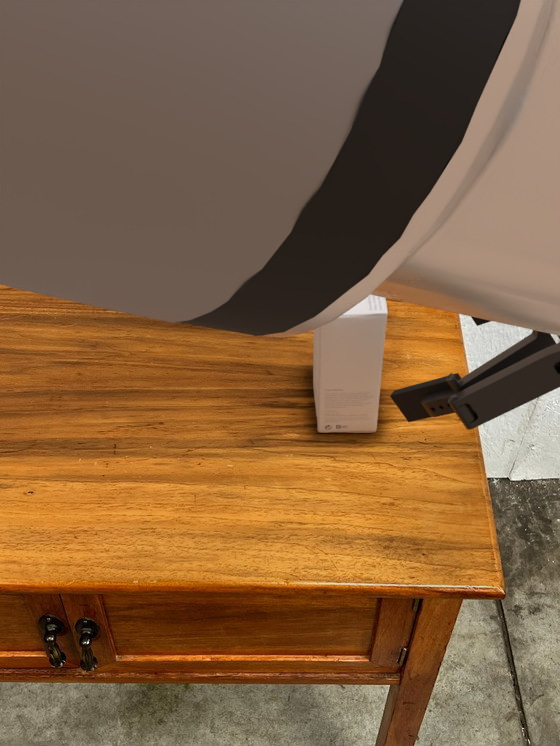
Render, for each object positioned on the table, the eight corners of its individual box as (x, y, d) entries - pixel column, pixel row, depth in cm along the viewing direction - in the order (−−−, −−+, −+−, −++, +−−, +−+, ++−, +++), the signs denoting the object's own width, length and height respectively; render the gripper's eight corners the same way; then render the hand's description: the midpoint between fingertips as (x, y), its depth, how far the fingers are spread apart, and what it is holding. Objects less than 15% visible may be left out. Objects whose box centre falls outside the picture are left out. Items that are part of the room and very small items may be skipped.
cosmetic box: (376, 434, 74) (393, 317, 63) (313, 435, 74) (319, 318, 63) (368, 371, 80) (382, 254, 69) (309, 371, 80) (314, 255, 69)
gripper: (669, 454, 43) (394, 490, 59) (755, 231, 57) (515, 310, 74) (602, 347, 41) (338, 415, 57) (709, 145, 55) (474, 245, 72)
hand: (437, 356), depth 65 cm, fingers open, 13 cm apart
